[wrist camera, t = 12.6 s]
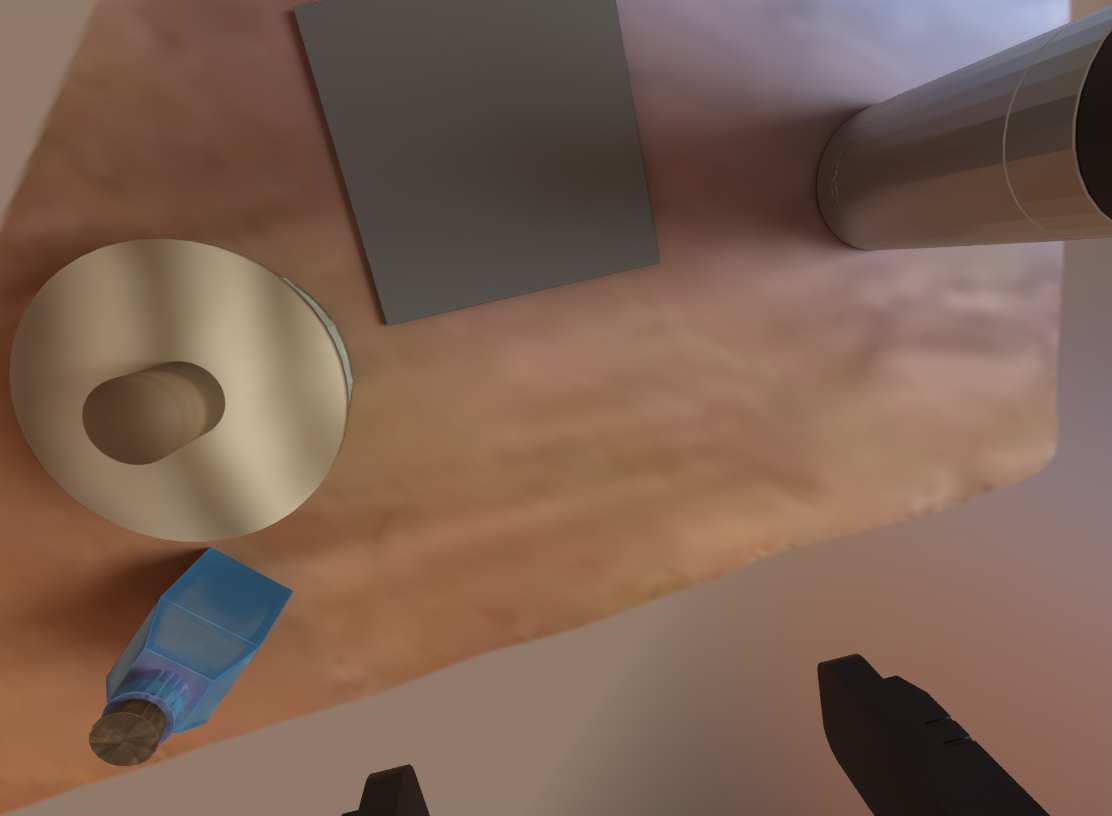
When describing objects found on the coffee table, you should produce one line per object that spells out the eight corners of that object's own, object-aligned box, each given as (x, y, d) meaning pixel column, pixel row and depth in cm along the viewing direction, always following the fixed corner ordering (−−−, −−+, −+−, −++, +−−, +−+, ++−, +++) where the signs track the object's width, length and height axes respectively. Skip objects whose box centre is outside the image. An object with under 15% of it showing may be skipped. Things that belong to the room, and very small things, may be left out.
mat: (604, -48, 33) (606, -54, 33) (657, 262, 38) (659, 262, 37) (296, 11, 32) (292, 6, 32) (389, 325, 37) (387, 326, 36)
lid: (292, 207, 29) (249, 193, 24) (385, 493, 33) (367, 535, 28) (-34, 280, 28) (-156, 282, 23) (103, 565, 32) (28, 624, 27)
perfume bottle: (246, 657, 41) (152, 809, 29) (163, 616, 39) (29, 759, 28) (292, 591, 40) (215, 720, 29) (210, 546, 39) (93, 664, 27)
